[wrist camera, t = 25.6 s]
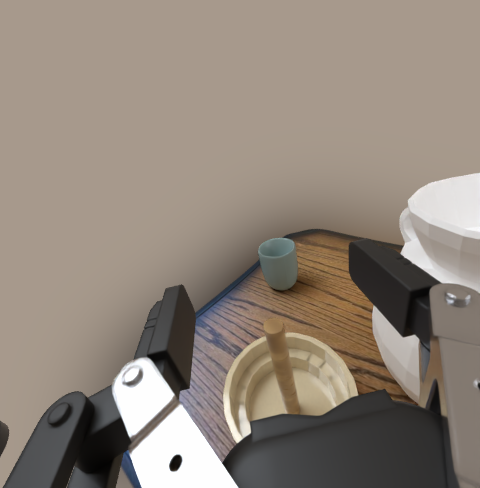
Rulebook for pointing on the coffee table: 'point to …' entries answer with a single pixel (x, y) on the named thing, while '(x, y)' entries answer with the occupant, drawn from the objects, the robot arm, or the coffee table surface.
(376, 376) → the coffee table surface
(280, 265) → the cup
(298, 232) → the coffee table surface
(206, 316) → the coffee table surface
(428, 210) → the white vase
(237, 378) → the bowl
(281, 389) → the stick
